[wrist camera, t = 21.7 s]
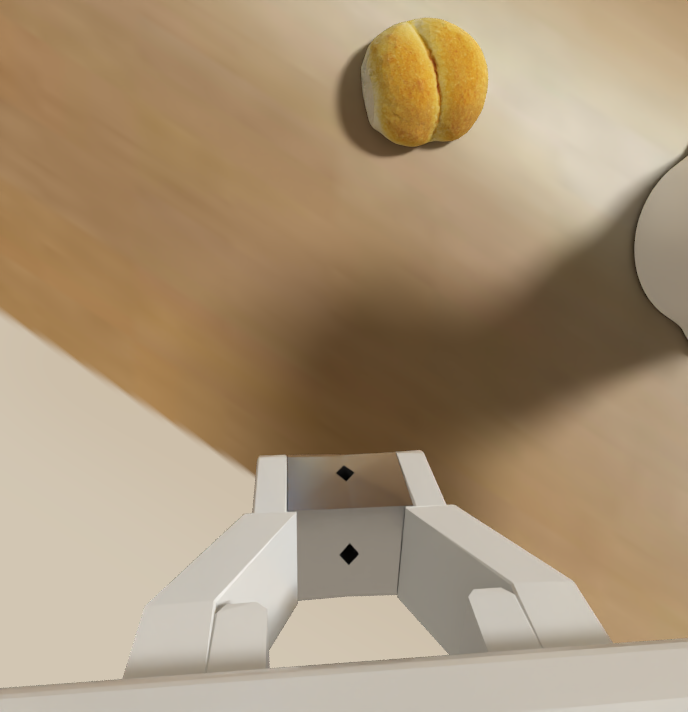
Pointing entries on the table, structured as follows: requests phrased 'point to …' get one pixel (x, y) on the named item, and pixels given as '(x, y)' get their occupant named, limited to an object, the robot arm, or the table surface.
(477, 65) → the bread roll
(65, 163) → the table surface
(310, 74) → the table surface
